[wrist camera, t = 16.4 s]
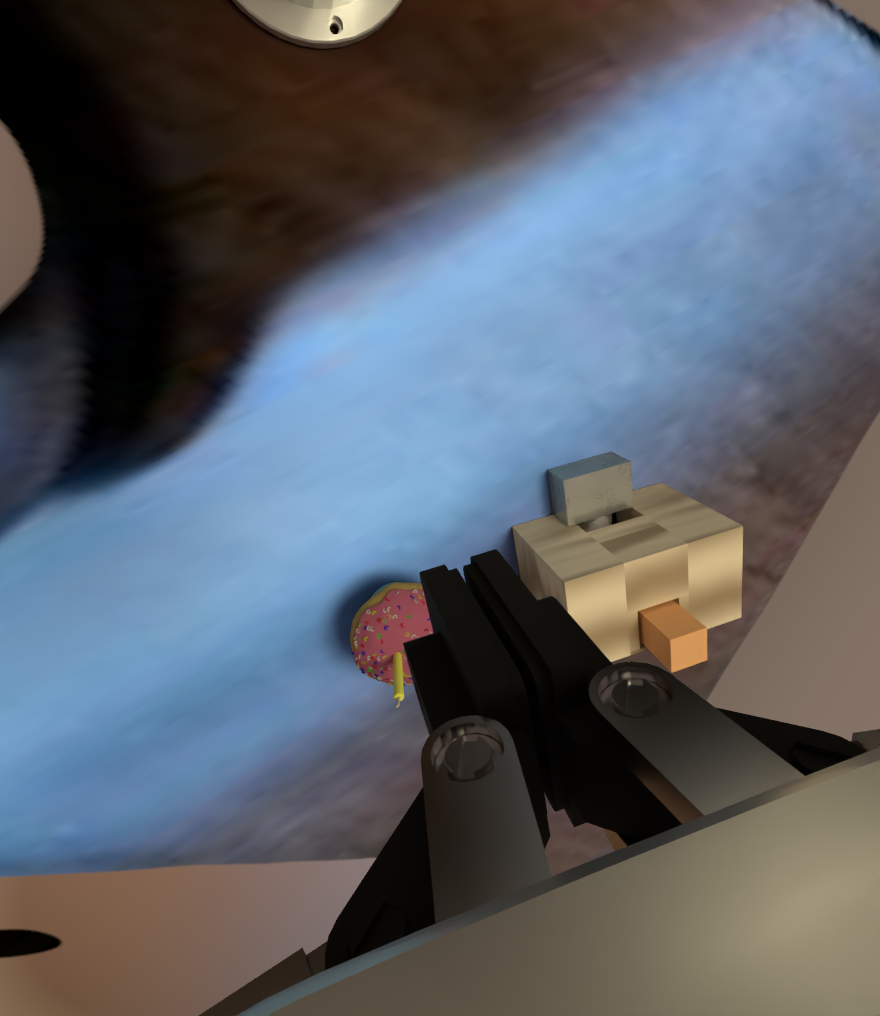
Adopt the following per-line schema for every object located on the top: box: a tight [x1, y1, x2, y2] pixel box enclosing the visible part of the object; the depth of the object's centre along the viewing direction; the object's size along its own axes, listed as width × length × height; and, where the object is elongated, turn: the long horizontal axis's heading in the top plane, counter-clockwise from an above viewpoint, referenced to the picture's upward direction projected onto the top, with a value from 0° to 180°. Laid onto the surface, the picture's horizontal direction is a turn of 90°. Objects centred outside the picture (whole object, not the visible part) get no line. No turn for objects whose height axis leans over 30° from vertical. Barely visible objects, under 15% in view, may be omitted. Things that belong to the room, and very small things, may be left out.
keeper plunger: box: [638, 600, 707, 673], centre depth 43 cm, size 3×3×7 cm
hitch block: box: [512, 483, 743, 662], centre depth 47 cm, size 8×14×10 cm, turn 101°
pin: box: [547, 452, 633, 533], centre depth 51 cm, size 18×6×3 cm, turn 11°
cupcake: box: [350, 582, 433, 708], centre depth 43 cm, size 9×8×12 cm
